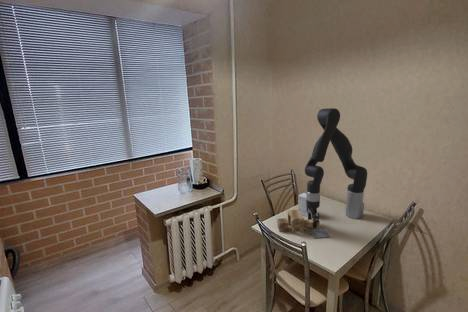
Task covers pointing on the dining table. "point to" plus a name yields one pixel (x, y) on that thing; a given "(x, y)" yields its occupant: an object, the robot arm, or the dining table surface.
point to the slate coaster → (319, 233)
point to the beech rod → (305, 224)
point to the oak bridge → (295, 219)
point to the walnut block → (283, 224)
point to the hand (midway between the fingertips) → (312, 223)
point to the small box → (302, 204)
